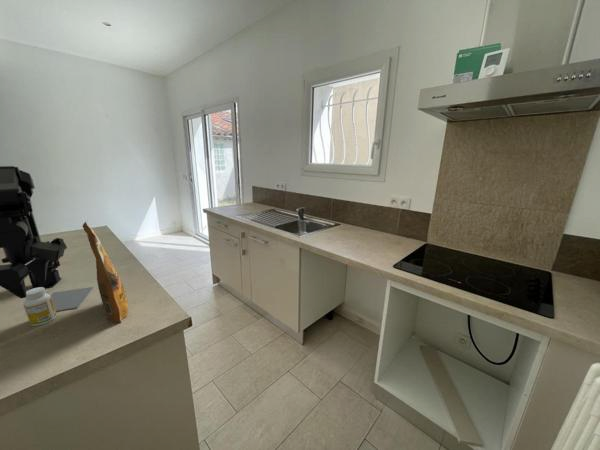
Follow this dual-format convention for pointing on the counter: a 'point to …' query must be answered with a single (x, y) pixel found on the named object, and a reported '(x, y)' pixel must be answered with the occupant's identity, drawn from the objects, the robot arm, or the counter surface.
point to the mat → (69, 298)
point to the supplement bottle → (39, 306)
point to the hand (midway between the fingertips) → (33, 288)
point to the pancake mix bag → (108, 281)
